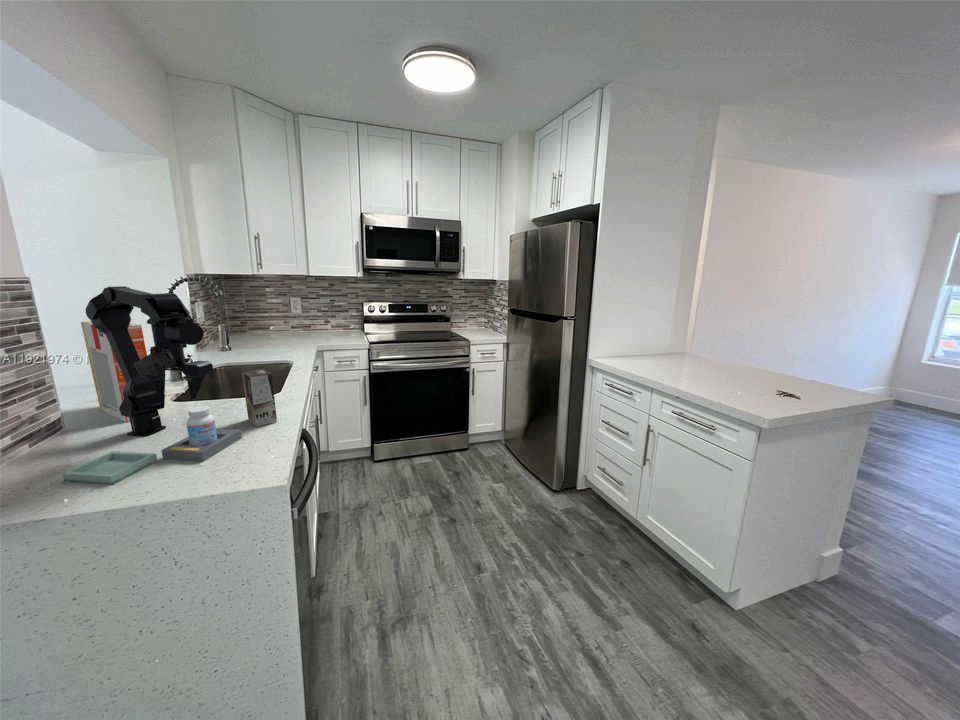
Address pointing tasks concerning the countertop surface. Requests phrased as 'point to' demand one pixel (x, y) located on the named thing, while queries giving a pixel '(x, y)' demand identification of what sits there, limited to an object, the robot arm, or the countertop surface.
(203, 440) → the pill bottle
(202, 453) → the socket block
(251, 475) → the countertop surface
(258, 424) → the coffee box
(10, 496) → the countertop surface
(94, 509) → the countertop surface
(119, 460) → the tray
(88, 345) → the orange cereal box
